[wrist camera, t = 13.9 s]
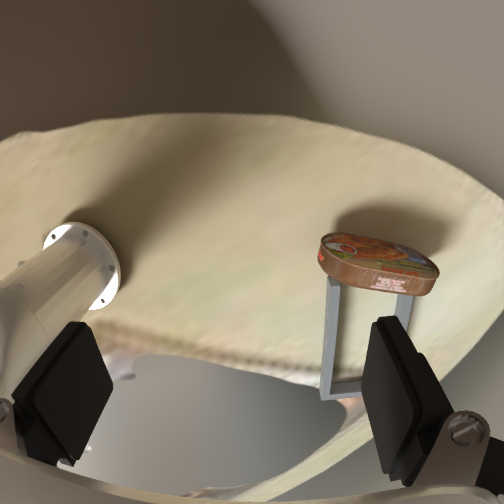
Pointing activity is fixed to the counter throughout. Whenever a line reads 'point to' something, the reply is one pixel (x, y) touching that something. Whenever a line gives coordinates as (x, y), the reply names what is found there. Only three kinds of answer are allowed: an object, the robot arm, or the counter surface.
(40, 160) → the counter surface
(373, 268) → the tin
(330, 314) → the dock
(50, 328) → the robot arm
